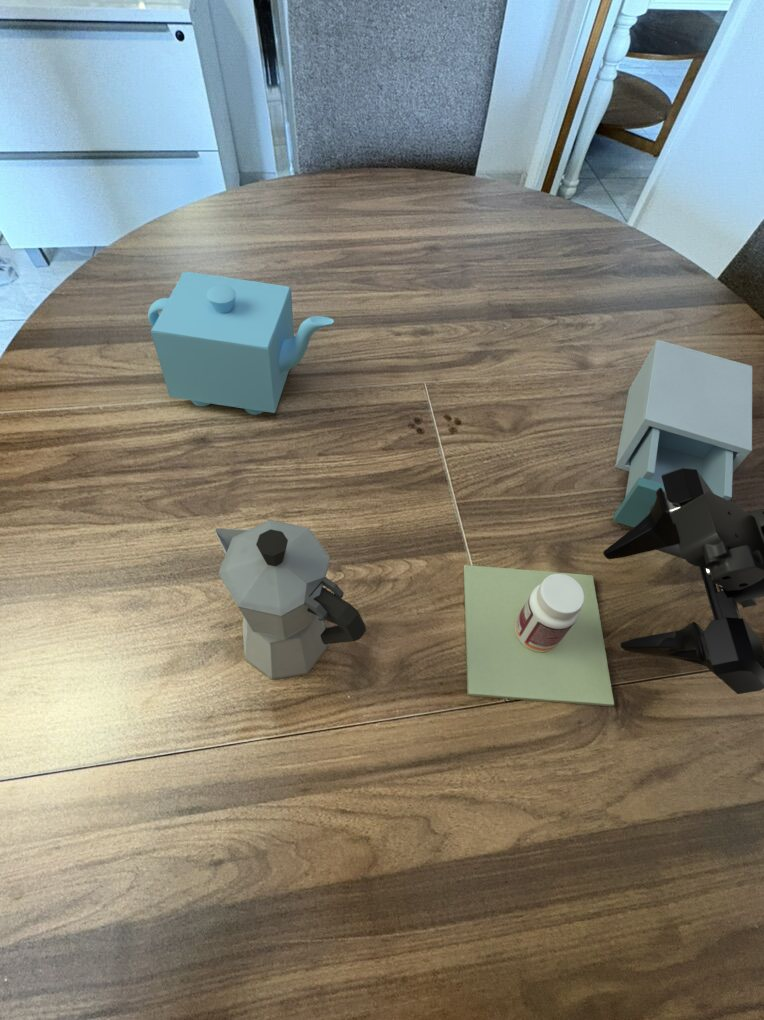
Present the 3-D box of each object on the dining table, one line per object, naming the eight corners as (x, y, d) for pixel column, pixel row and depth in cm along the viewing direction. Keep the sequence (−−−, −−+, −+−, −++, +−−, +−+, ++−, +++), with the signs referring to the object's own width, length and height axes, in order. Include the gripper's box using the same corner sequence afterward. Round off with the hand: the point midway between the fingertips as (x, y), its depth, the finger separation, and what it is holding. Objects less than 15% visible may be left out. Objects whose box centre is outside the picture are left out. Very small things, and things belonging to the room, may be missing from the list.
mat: (591, 577, 67) (592, 575, 66) (612, 706, 59) (614, 704, 58) (463, 567, 66) (464, 564, 66) (467, 695, 58) (468, 693, 58)
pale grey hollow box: (711, 497, 74) (752, 450, 67) (614, 467, 76) (645, 418, 69) (715, 415, 83) (752, 365, 75) (628, 390, 84) (656, 339, 77)
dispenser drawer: (704, 590, 66) (740, 558, 60) (606, 558, 67) (632, 523, 62) (711, 464, 76) (742, 426, 71) (627, 438, 78) (650, 399, 72)
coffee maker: (205, 636, 60) (165, 538, 45) (263, 572, 64) (245, 463, 49) (328, 726, 56) (329, 650, 41) (382, 650, 60) (400, 558, 45)
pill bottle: (570, 635, 62) (600, 598, 55) (537, 662, 60) (564, 627, 53) (536, 600, 64) (561, 560, 57) (504, 625, 62) (526, 587, 55)
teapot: (150, 403, 76) (120, 311, 65) (179, 345, 83) (156, 252, 71) (324, 430, 76) (324, 342, 65) (340, 369, 82) (342, 279, 71)
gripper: (742, 398, 47) (558, 474, 56) (830, 620, 37) (586, 672, 46) (781, 470, 54) (611, 528, 63) (865, 675, 43) (646, 711, 52)
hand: (613, 599), depth 56 cm, fingers open, 9 cm apart
